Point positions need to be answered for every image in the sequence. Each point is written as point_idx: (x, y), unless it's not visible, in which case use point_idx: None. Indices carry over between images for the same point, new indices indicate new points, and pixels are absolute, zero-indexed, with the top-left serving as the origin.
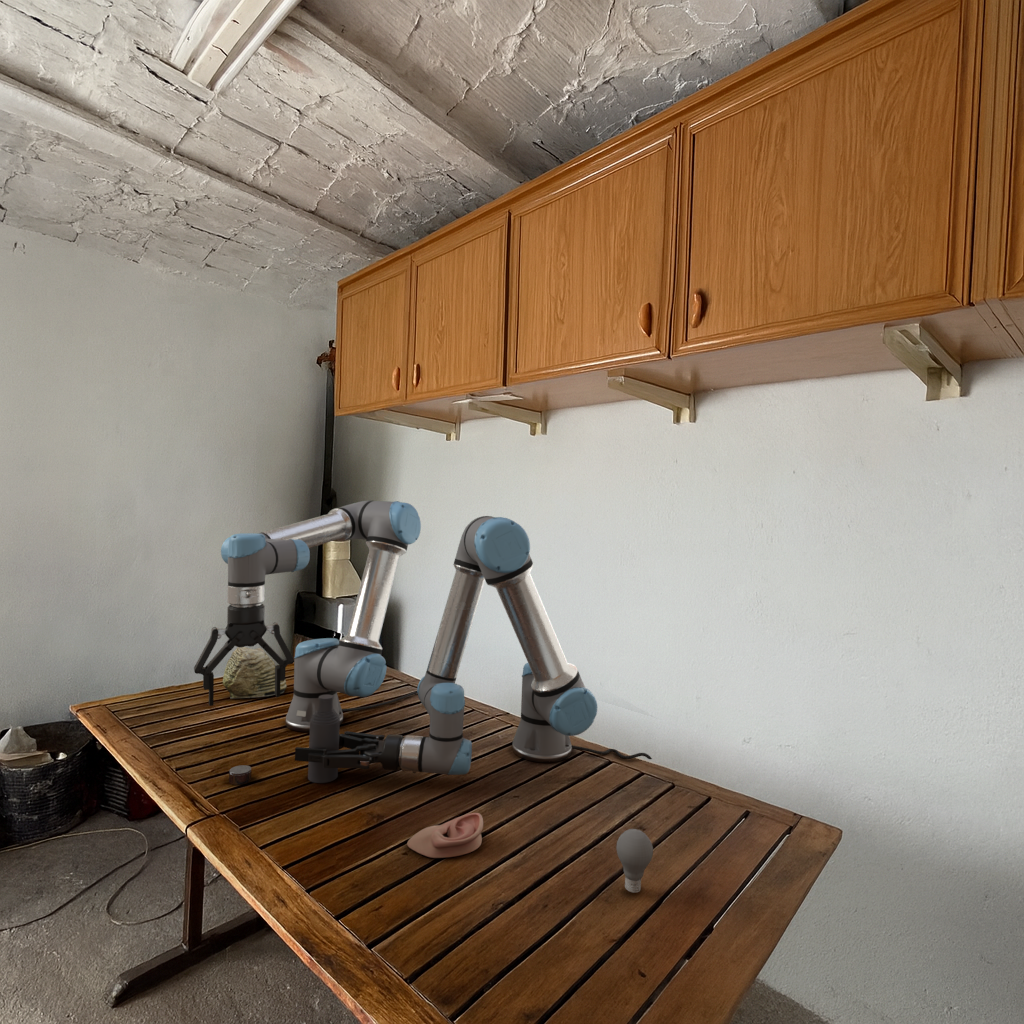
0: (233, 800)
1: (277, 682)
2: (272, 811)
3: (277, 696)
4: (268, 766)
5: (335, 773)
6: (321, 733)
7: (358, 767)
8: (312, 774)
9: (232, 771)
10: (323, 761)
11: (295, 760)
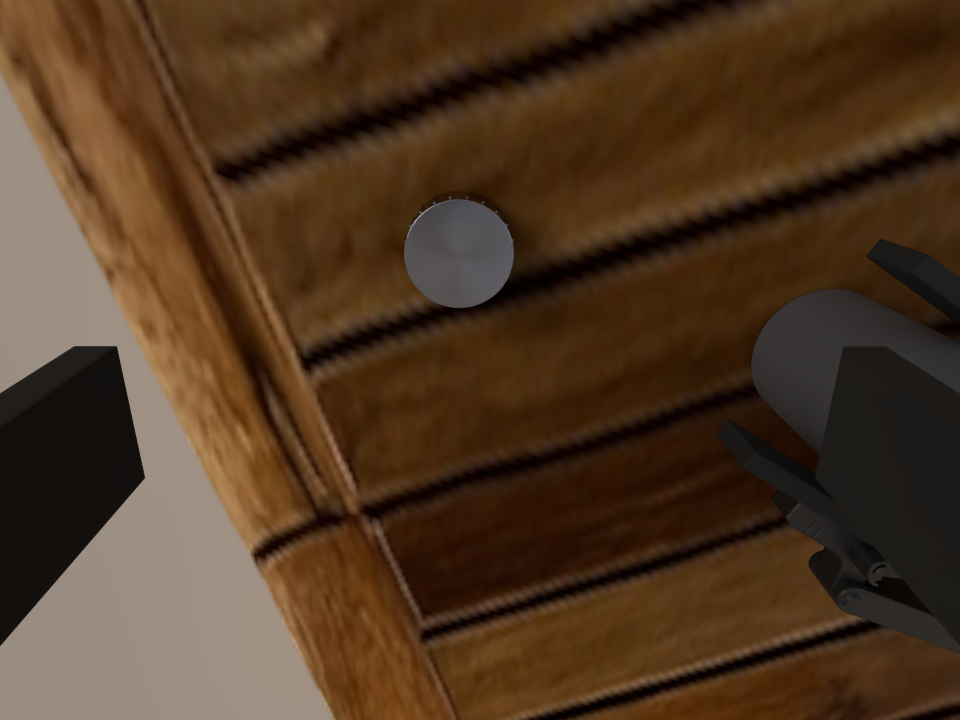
0: (415, 431)
1: (929, 598)
2: (543, 565)
3: (827, 484)
4: (621, 116)
5: None
6: None
7: None
8: (772, 404)
9: (418, 267)
10: (823, 582)
11: (720, 436)
